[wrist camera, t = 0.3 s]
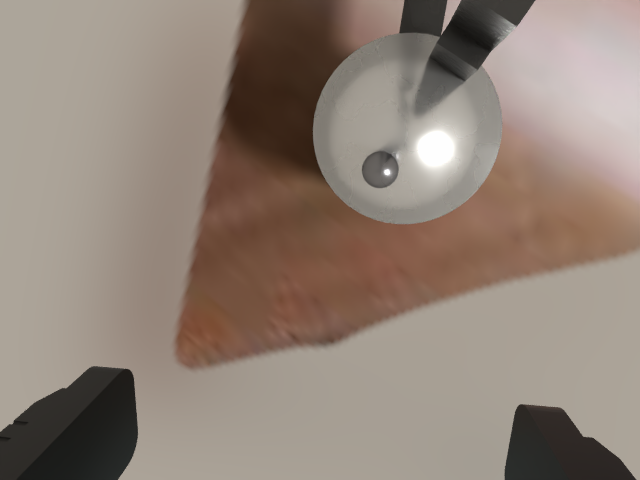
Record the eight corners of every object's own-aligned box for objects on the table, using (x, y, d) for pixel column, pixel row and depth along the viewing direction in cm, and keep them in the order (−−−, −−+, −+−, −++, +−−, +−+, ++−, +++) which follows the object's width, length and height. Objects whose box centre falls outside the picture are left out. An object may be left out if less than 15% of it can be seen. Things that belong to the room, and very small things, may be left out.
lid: (440, -99, 24) (472, -227, 16) (605, 10, 24) (718, -64, 16) (282, 160, 27) (245, 159, 19) (425, 254, 27) (445, 293, 19)
